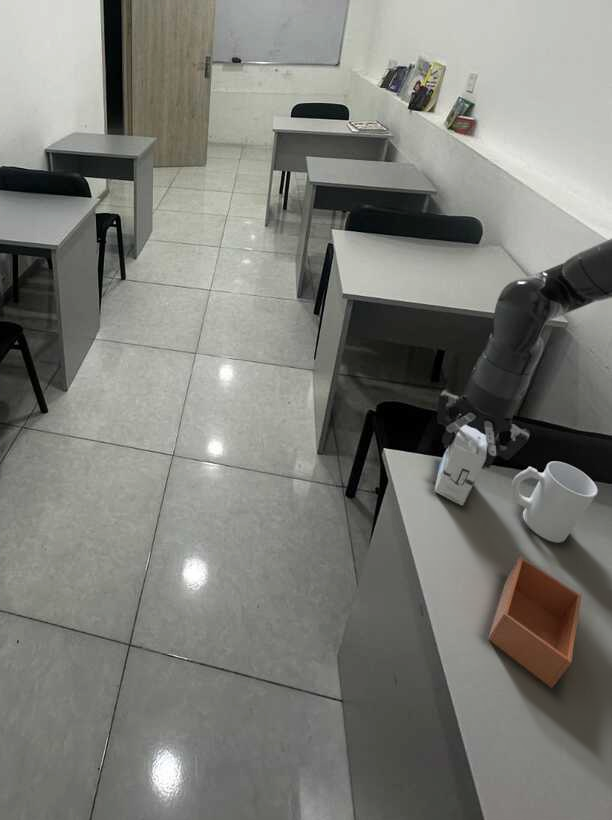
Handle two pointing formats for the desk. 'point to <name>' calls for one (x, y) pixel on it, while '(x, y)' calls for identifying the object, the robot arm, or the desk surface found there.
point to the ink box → (461, 464)
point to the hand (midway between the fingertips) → (464, 454)
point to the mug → (555, 499)
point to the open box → (537, 621)
